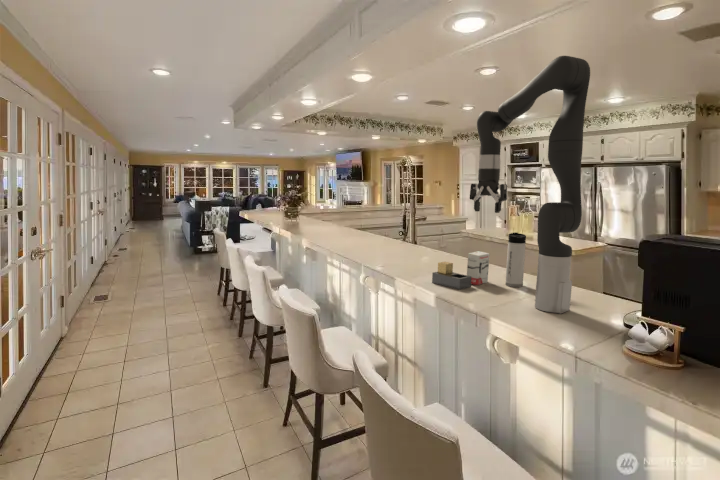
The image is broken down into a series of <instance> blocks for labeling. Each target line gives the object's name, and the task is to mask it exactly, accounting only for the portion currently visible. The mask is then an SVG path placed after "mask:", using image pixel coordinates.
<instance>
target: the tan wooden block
mask: <svg viewBox="0 0 720 480" xmlns="http://www.w3.org/2000/svg"><path fill="white" fill-rule="evenodd" d="M453 267H454V263H453V262H450V261H439V262H437V272H438V273H440V274H444V275H448V274H453V271H454V270H453V269H454V268H453Z"/></svg>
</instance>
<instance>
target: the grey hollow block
mask: <svg viewBox="0 0 720 480" xmlns="http://www.w3.org/2000/svg"><path fill="white" fill-rule="evenodd" d="M471 277H472V276H467V274H463V273H459V272H458V273H457V272H453V274H448V275H444V274H440V273H438V271H435V272H432V277H431V278H432V279H431V284H437V285H439V286H443V287H447V288H452V289H455V290H458V291H459V290H460V291H461V290H464V289H468V288H471V287H472V284H471Z"/></svg>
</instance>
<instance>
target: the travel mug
mask: <svg viewBox="0 0 720 480" xmlns="http://www.w3.org/2000/svg"><path fill="white" fill-rule="evenodd" d="M526 244H527V235H526V234H523V233H519V232H511V233H509V234H508V241H507V253H506V254H507V255H506V268H505V269H506V271H505V285H506V286H508V287H511V288H521V287H523V286H524V274H525V257H526Z"/></svg>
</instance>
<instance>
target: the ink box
mask: <svg viewBox="0 0 720 480" xmlns="http://www.w3.org/2000/svg"><path fill="white" fill-rule="evenodd" d="M490 255H491V253H489V252H485V251H480V250H478V251H473V252H469V253H468V254H467V267H466V275H467V276H472V277H471V285H473V286H480V285H482V284H486V283H488V280H489V267H490V266H489V265H490Z"/></svg>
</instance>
